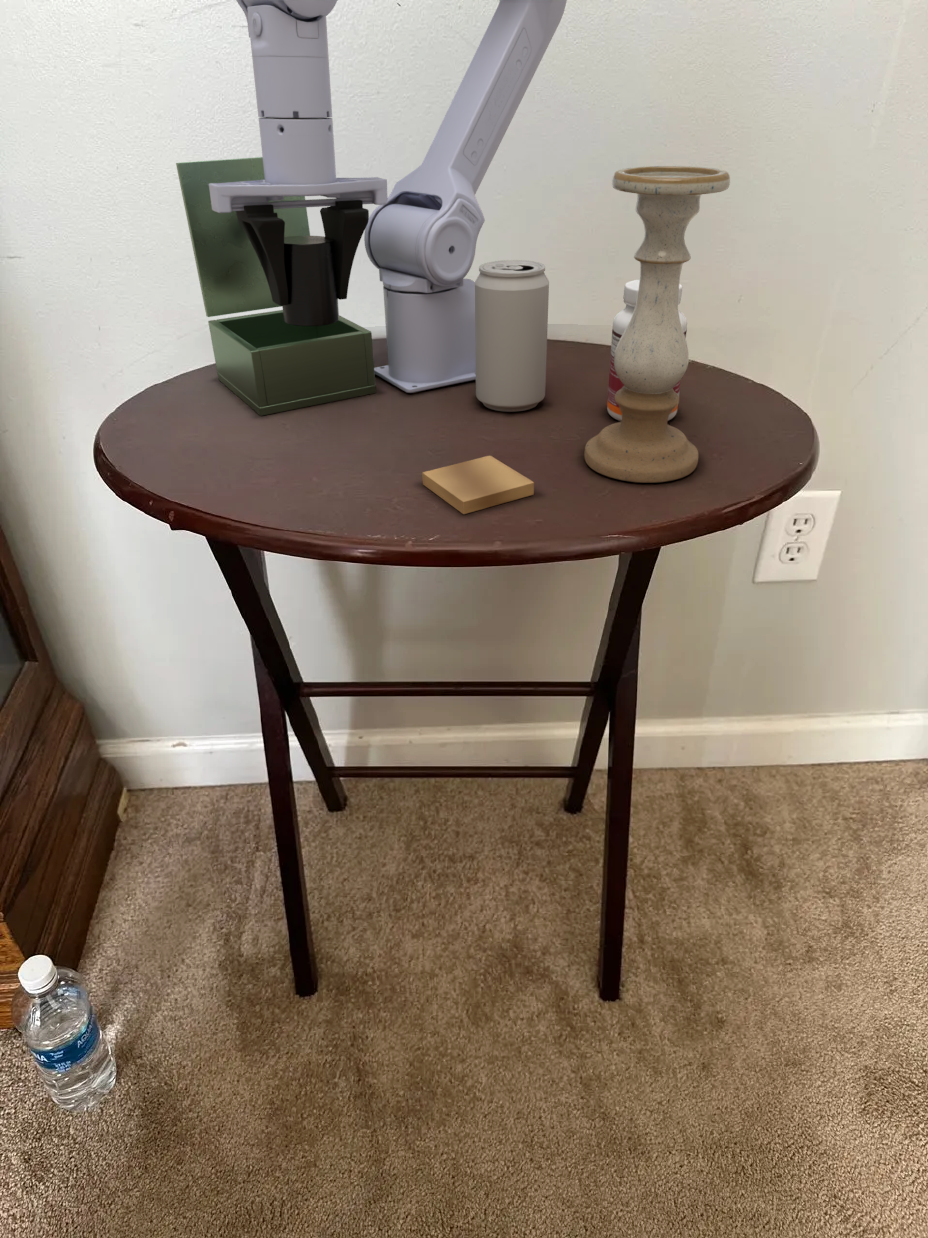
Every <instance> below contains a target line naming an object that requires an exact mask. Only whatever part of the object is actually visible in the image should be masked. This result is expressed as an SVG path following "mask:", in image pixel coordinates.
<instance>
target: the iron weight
mask: <svg viewBox="0 0 928 1238" xmlns="http://www.w3.org/2000/svg"><path fill="white" fill-rule="evenodd" d="M284 264H285V273H286V280H287V288H288V305H283V306H281V307H282V310H283V317H284V322H286V323H288V324H291V325H296V326H323V325H329V324H332V323H335V322H337V321H338V320H339V315H340V311H339V310H340V309H339V299H338V294H337V279H336V263H335V248H334V239H332V238H329V237H325V235H324V236H323V235H310V236H289V237H284Z"/></svg>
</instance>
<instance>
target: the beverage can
mask: <svg viewBox="0 0 928 1238" xmlns="http://www.w3.org/2000/svg"><path fill="white" fill-rule="evenodd" d="M478 271H479V274H478V276H477V277H476V279H475V281H474V282H475V354H476V380H475V396H476V399H477V400H478V401H479V402H481V403H482V404H483V406H484V407H485V408H488V409H490V410H493V411H497V412H508V413H511V412H512V413H513V412H523V411H528V410H531V409H534V408H535V407H536V406H538V404H539V403H540V402H542V401H543V400H544V398H545V396H546V380H547V355H548V354H547V353H548V351H547V349H548V328H549V327H548V325H549V323H548V322H549V298H550V297H549V296H550V280H549V278H548V277H547V275H546V274H545V271H546V264H544V263H541V262H539V261H533V260H525V259H503V260H495V261H488V262H484V263H481V264H480V265H479V266H478Z"/></svg>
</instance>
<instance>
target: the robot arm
mask: <svg viewBox="0 0 928 1238" xmlns="http://www.w3.org/2000/svg"><path fill="white" fill-rule="evenodd" d="M235 1H236V3H237V4H238V6H239V7H240V8H241V10H242V12H243V14H244V16H245V18H246V22H247V23H246V24H247V32H248V38H250V39H249V40H250V49H251V58H252V69H253V79H254V89H255V99H256V109H257V117H258V126H259V127H258V128H259V135H260V146H261V157H263V167H264V176H265V180H255V181H242V182H229V183H211V184H209V190H210V197H211V205H212V210H213V211H215V212H218V213H231V212H232V211H236V215H237V219H238V221H239V223H240V225H241V226H242V228H243V230H244V231H245V233H246V235H247V237H248V238H249V240H250V242H251V244H252V246H253V248H254V250H255V252H256V254H257V256H258V258H259V261H260V263H261V266H262V268H263V270H264V273H265V276H266V279H267V282H268V285H269V288H270V292H271V296H272V300H273V302H275V303H276V304H278V305H280V306H281V307H282V306H283V305H288V288H287V280H286V273H285V264H284V232H285V222H284V221H283V220H282V219H280V218H278V215H277V213H274V209H284V208H303V207H306V208H319V207H321V209H320V210H319V213H320V218H321V222H322V227H323V228H322V229H323V233H324V237H329V238H332V239H334V248H335V263H336V279H337V294H338V300H340V301H342V300H347V299H348V293H349V292H348V291H349V290H348V289H349V283H350V278H351V272H352V267H353V264H354V260H355V256H356V252H357V250H358V248H359V244H360V242H361V239H362V237H364V239H363V241H364V249H365V253H366V255H367V257H368V259H369V261H370V262H371V264H372V265H373V266H374V267H375V268H376V269H377V270H378V274H379V275H378V276H379V282H382V290H383V292H382V293H383V306H384V307H383V308H384V318H385V319H384V322H385V324H384V325H385V338H386V353H387V365H382V366H377V367H374V374H375V375H376V376H378V377H380V378H381V379H383V380H385V381H386V382H388V383H390V384H391V385H393V386H395V387H397V388H398V389H400V390H401V391H403V392H405V393H407V394H412V393H418V392H423V391H426V390H431V389H436V388H442V387H447V386H451V385H457V384H460V383H467V382H471V381H476V354H475V281H474V280H473V279H470V278H465V277H466V276H468V274H469V271H470V270H471V269H472V266H473V263H474V259H475V255H476V248H477V241H478V237H479V234H480V232H481V229H482V228H483V225H484V223H485V221H486V220H485V216H484V213H483V211H482V208H481V205H480V204H479V201H478V199H477V197H476V194H477V191H478V190H479V189H480V188H479V187H480V186H481V184H482V182H483V180H484V177H485V176H486V174H487V171H488V170H489V167H490V165H491V163H492V161H493V159H494V157H495V155H496V153H497V151H498V150H499V147H500V145H501V144H502V141H503V139H504V137H505V135H506V133H507V131H508V129H509V126H510V125H511V123H512V120H513V118H514V117H515V115H516V112H517V111H518V108H519V107H520V104H521V102H522V100H523V98H524V96H525V94H526V93H527V90H528V88H529V87H530V84H531V82H532V80H533V78H534V76H535V74H536V72H537V70H538V68H539V66H540V63H541V62H542V61H543V57H544V55H545V53H546V52H547V49H548V48H549V45H550V43H551V42H552V40H553V38H554V35H555V34H556V31H557V29H558V27H559V25H560V23H561V21H562V18H563V17H564V16H563V15H564V13H565V9H566V6H567V1H568V0H499V2H498V5H497V7H496V9H495V12H494V14H493V15H492V18H491V19H490V22H489V23H488V26H487V28H486V30H485V32H484V34H483V37H482V39H481V40H480V43H479V44H478V47H477V49H476V51H475V53H474V54H473V57H472V59H471V61H470V63H469V65H468V67H467V69H466V72H465V74H464V75H463V78H462V79H461V82H460V84H459V86H458V88H457V90H456V92H455V94H454V96H453V98H452V101H451V102H450V104H449V106H448V109H447V111H446V113H445V115H444V117H443V120H442V121H441V123H440V125H439V127H438V129H437V131H436V133H435V136H434V138H433V140H432V142H431V144H430V146H429V148H428V150H427V152H426V154H425V156H424V158H423V160H422V163H421V164H420V165H419V166H418V167H416V168H415V169H414V170H412V171H411V172H409V173H408V174H407V175H405V176H403V177H401V179H400V180H399V181H397V182H396V183H395V184H394V186H393V188H392V190H391V192H390V194H389V196H388V179H386V178H382V177H378V176H375V177H373V176H371V177H337V170H336V155H335V154H336V153H335V139H334V137H335V135H334V123H333V122H334V121H333V107H332V92H331V91H332V89H331V74H330V56H329V41H328V27H327V26H328V24H327V16H328V15H329V14H331V12H332V11H333V9H334V8H335V6H336V4H337V3H338V2H339V0H235ZM284 196H305V197H319V196H320V197H325V198H317V199H316V198H315V199H314V198H313V199H305V200H292V201H280V200H284ZM268 200H271V202H268ZM364 205H376V206H377V207H375V209H374V210H373V211H372V212H371V214H370V213H369V212H370V211H369V210H370V209H368V208H365V207H364ZM363 235H364V236H363Z"/></svg>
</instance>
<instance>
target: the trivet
mask: <svg viewBox="0 0 928 1238" xmlns="http://www.w3.org/2000/svg"><path fill="white" fill-rule="evenodd" d="M421 473H422V475H421V476H422V485H423V486H424V487H426V489H428V490H430V491H431V492H432V493H434V494H435V495H437V496H438V497H439V498H441V499H442V500H443V501H444V502H446V503H447V504H449V505H450V506H452V507H453V508H454V509H455V510H457V511H458V512H460V513H461V514H462V515H467V514H470V513H474V512H477V511H481V510H485V509H488V508H492V507H495V506H498V505H503V504H506V503H509V502H512V501H517V500H520V499H524V498H528V497H530V496H534V494H535V482H534V481H533V480H531V479H530V478H528V477H527V476H524V475H523V474H521V473H520V472H518V471H516V470H515V469H513V468H511V467H510V466H508V465H506V464H504V463H503V462H501V460H498V459H497V458H495V457H493V456H492V455H486V456H483V457H478V458H474V459H471V460H470V459H469V460H466V461H463V462H458V463H454V464H451V465H445V466H443V467H438V468H435V469H430V470H426V471H422V472H421Z"/></svg>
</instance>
